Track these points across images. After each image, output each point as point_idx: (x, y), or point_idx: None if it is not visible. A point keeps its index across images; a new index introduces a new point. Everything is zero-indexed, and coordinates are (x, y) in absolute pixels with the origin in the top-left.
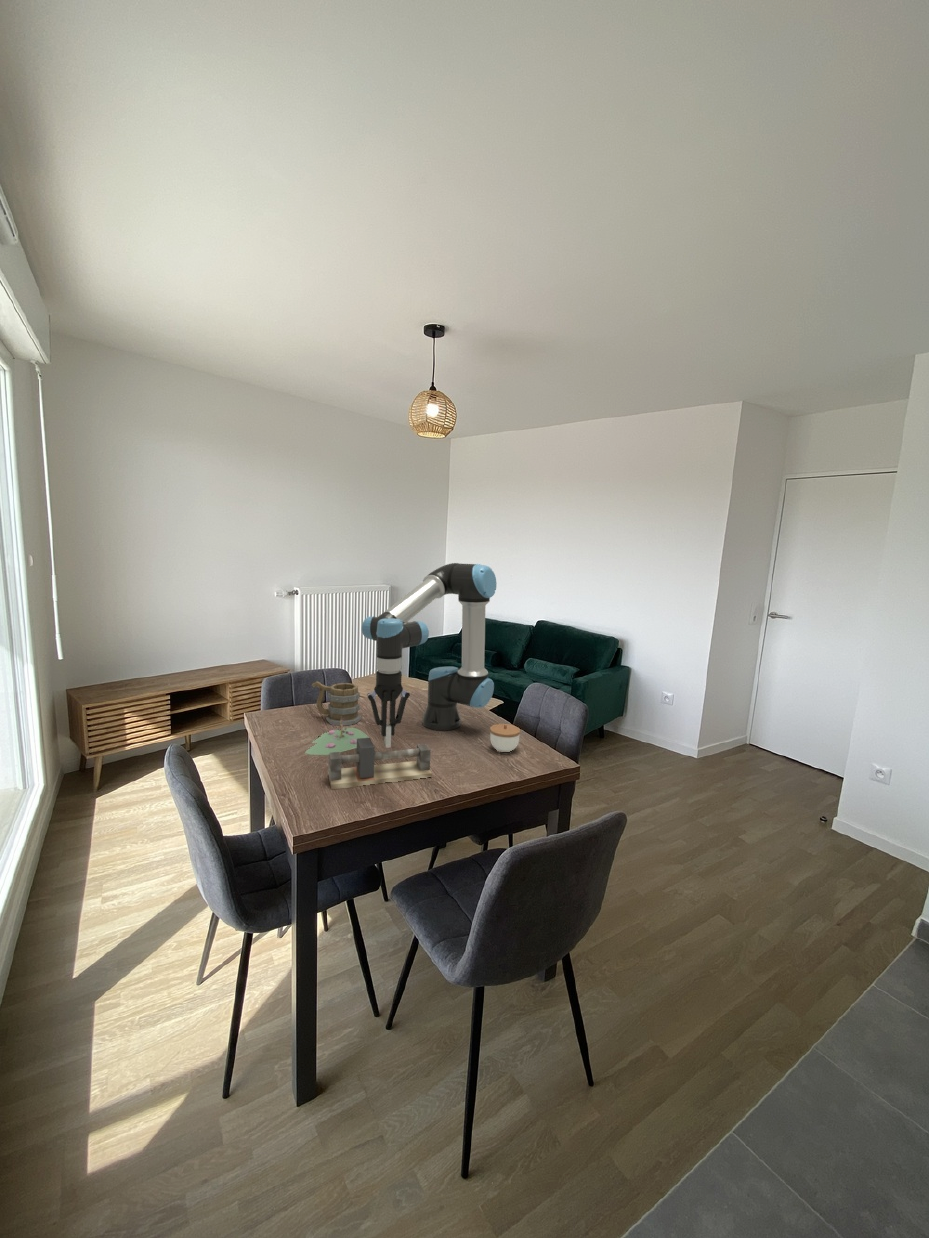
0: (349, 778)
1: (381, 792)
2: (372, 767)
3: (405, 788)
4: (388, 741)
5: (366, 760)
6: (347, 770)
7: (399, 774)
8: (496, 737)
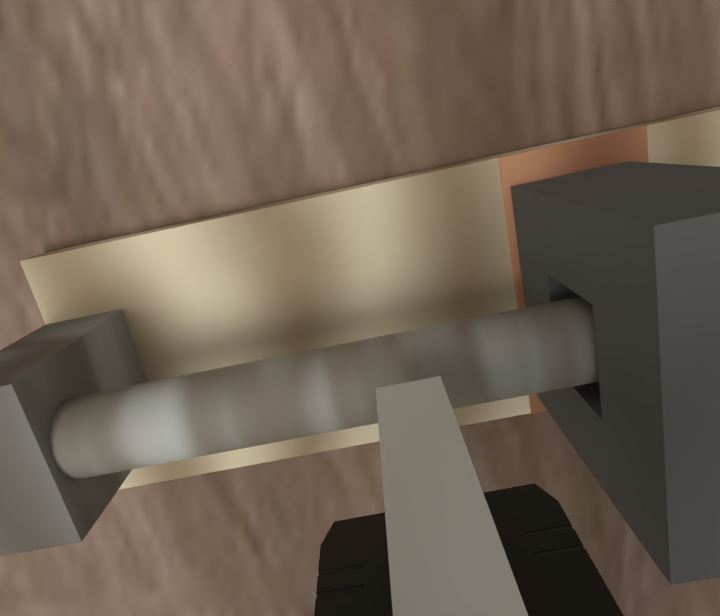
0: None
1: (438, 5)
2: (554, 192)
3: (242, 72)
4: (418, 422)
5: (664, 182)
6: None
7: (292, 247)
8: None
